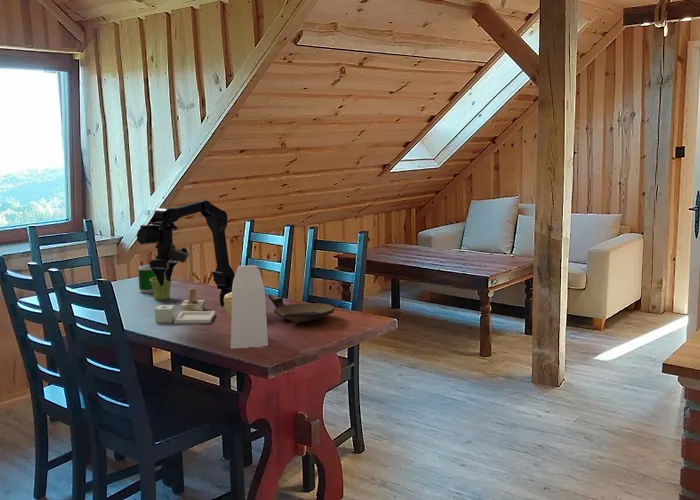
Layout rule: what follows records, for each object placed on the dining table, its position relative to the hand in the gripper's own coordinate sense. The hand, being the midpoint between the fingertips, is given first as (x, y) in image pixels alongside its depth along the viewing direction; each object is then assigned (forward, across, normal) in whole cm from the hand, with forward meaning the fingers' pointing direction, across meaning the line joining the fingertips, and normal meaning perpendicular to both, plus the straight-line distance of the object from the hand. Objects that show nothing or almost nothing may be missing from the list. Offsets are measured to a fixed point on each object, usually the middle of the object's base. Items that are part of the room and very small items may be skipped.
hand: (165, 283), depth 258 cm
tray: (+14, +1, -11) cm, 17 cm away
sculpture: (+14, +4, -28) cm, 31 cm away
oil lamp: (+13, +3, -51) cm, 53 cm away
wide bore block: (+13, +14, -7) cm, 20 cm away
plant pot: (+14, +35, +12) cm, 40 cm away
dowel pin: (+13, +14, -7) cm, 20 cm away
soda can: (+13, +49, +22) cm, 55 cm away
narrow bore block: (+14, -1, 0) cm, 14 cm away
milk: (+14, -29, -36) cm, 49 cm away
